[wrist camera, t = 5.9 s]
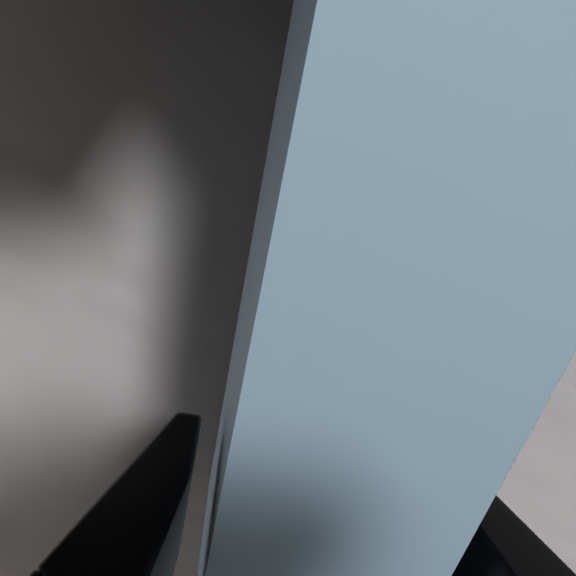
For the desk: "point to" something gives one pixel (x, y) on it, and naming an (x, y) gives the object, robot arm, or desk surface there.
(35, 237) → the desk surface
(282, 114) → the light blue rectangular block
